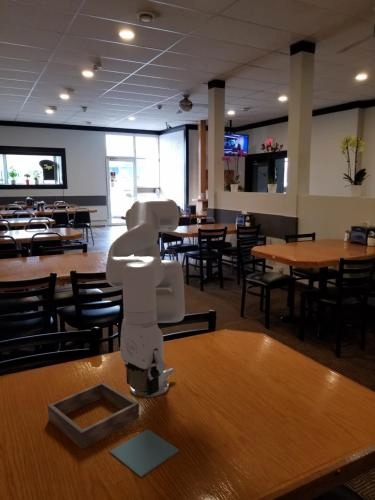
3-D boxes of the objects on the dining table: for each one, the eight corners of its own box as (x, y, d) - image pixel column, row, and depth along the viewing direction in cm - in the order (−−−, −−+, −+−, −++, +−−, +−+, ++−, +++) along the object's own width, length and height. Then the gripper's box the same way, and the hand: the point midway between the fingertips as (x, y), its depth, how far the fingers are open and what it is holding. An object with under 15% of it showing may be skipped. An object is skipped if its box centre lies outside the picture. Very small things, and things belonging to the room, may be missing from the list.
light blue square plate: (147, 430, 102) (147, 429, 102) (179, 451, 94) (179, 449, 94) (109, 452, 94) (109, 451, 94) (141, 477, 86) (140, 475, 85)
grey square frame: (103, 395, 120) (102, 381, 120) (139, 418, 108) (138, 403, 107) (48, 420, 108) (47, 405, 107) (82, 449, 95) (81, 432, 94)
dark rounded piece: (152, 403, 87) (151, 370, 86) (122, 400, 89) (120, 368, 87) (161, 387, 94) (160, 356, 93) (133, 384, 96) (131, 354, 95)
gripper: (105, 311, 92) (108, 381, 95) (152, 329, 80) (154, 407, 83) (130, 304, 97) (132, 370, 100) (178, 320, 85) (179, 394, 88)
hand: (142, 386), depth 91 cm, fingers closed on dark rounded piece, 6 cm apart
